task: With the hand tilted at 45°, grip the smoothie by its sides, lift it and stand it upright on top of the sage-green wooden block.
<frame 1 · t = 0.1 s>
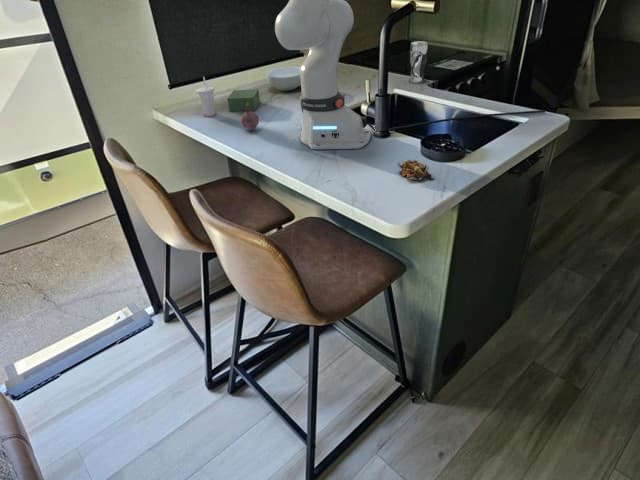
green block: (245, 106, 170), on the worktop
smoothie: (210, 115, 165), on the worktop
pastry: (412, 172, 118), on the worktop
vegetable: (251, 131, 149), on the worktop
beer glass: (416, 81, 183), on the worktop
cereal bowl: (287, 88, 186), on the worktop
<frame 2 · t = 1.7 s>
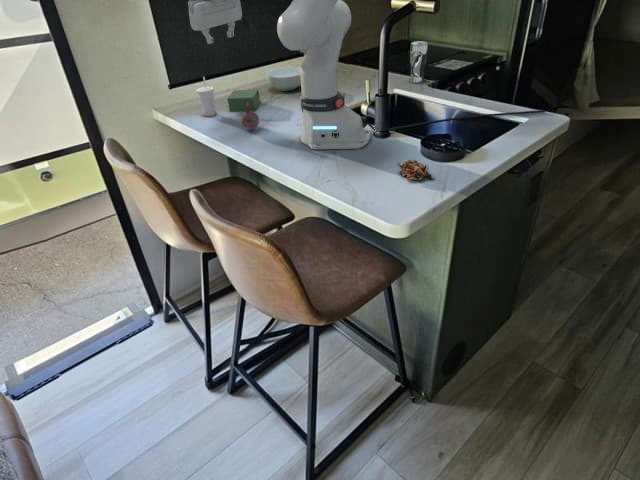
hand: (221, 40, 143), 27 cm above the worktop, tool pointing down, fingers open, 8 cm apart
nothing on the worktop moved.
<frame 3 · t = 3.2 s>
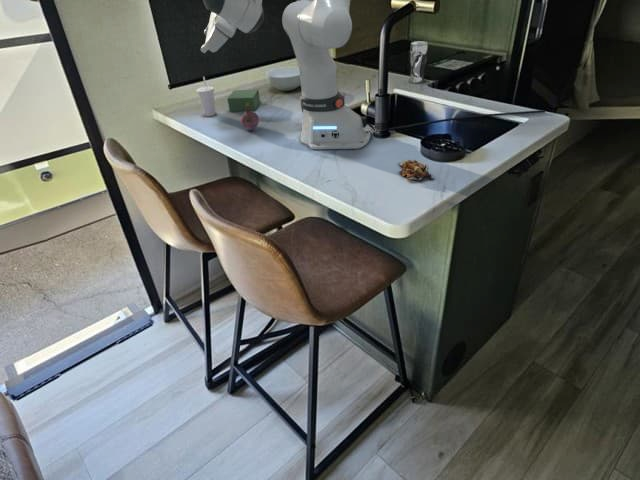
hand: (204, 42, 146), 26 cm above the worktop, tool tilted 50°, fingers open, 8 cm apart
nothing on the worktop moved.
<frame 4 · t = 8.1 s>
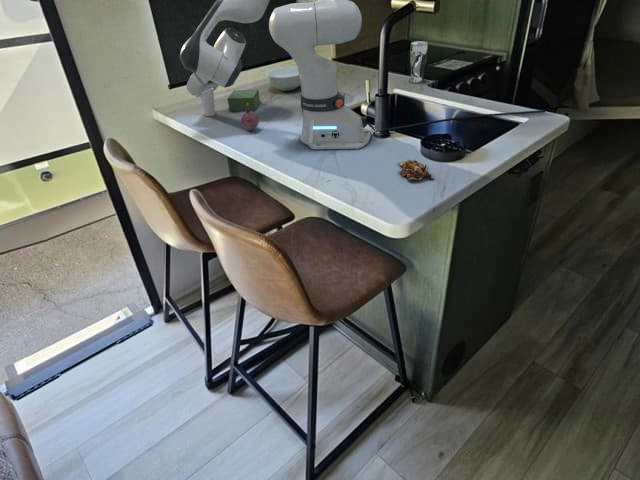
hand: (204, 92, 160), 8 cm above the worktop, tool tilted 45°, fingers closed on smoothie, 6 cm apart
smoothie: (210, 115, 165), on the worktop, touching gripper
everything else where it was.
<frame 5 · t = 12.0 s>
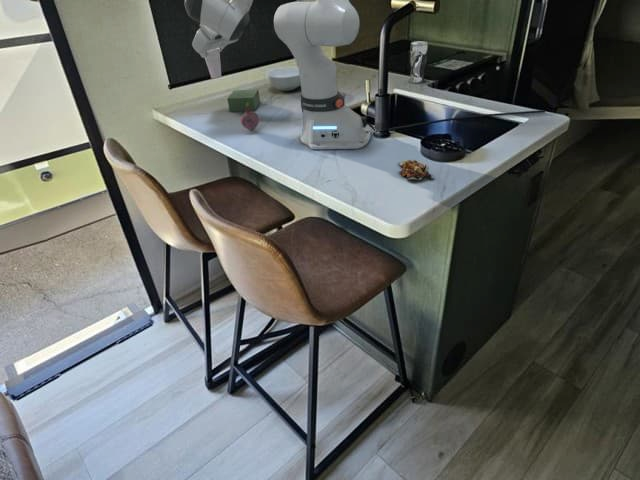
hand: (210, 53, 154), 21 cm above the worktop, tool tilted 45°, fingers closed on smoothie, 6 cm apart
smoothie: (216, 77, 159), point 13 cm above the worktop, touching gripper
everything else where it was.
when the fingers open (13 cm above the worktop, at t = 16.0 s): smoothie stays where it is, resting on green block.
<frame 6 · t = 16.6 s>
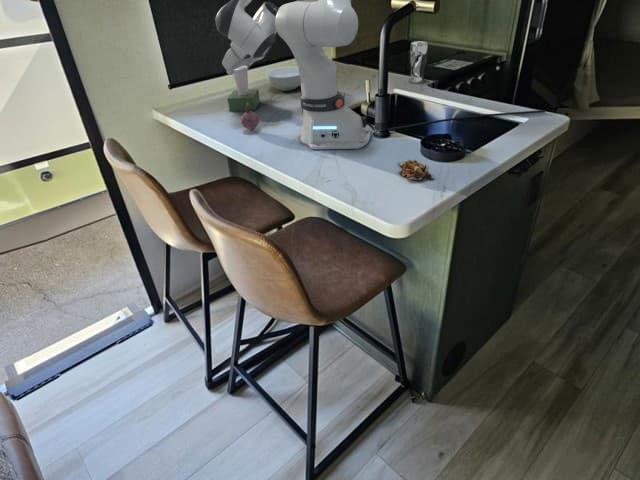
hand: (237, 70, 162), 14 cm above the worktop, tool tilted 45°, fingers open, 8 cm apart
green block: (245, 106, 170), on the worktop, touching smoothie
smoothie: (243, 94, 167), point 5 cm above the worktop, touching green block
everything else where it was.
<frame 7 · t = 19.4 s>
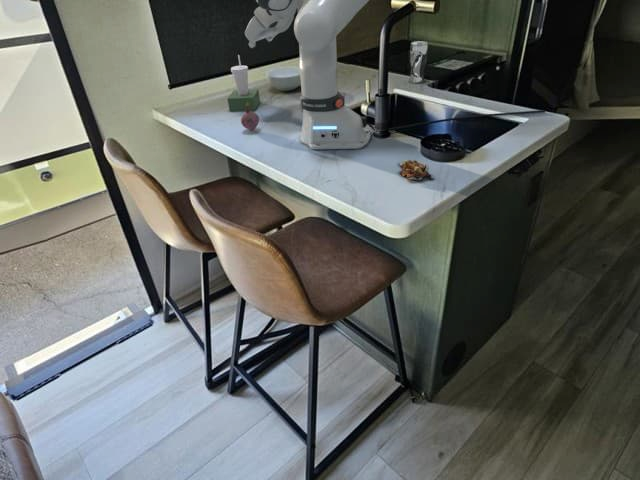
hand: (259, 42, 150), 24 cm above the worktop, tool tilted 45°, fingers open, 8 cm apart
nothing on the worktop moved.
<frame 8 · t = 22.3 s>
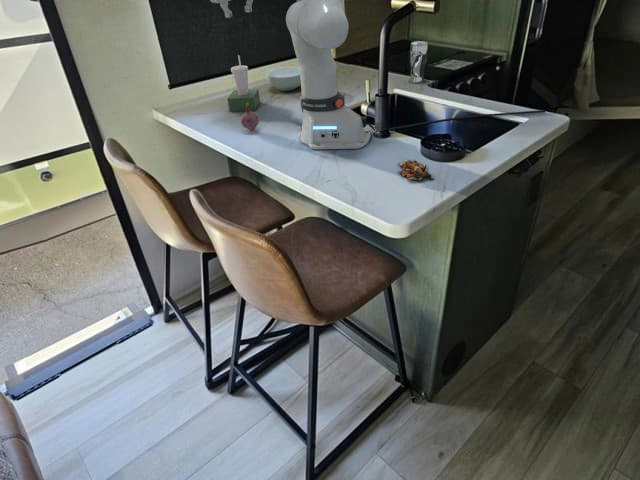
hand: (239, 14, 139), 34 cm above the worktop, tool pointing down, fingers open, 8 cm apart
nothing on the worktop moved.
at the end: smoothie 0.1 cm off-centre on the green block, point 4.8 cm above the green block's base; smoothie tilted 0°; the gripper is holding nothing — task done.
